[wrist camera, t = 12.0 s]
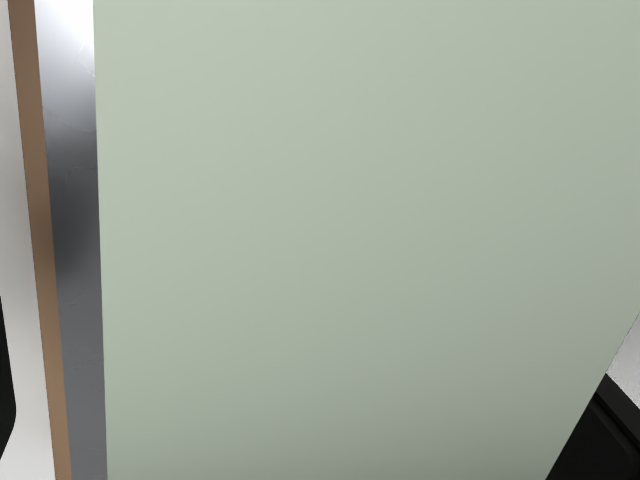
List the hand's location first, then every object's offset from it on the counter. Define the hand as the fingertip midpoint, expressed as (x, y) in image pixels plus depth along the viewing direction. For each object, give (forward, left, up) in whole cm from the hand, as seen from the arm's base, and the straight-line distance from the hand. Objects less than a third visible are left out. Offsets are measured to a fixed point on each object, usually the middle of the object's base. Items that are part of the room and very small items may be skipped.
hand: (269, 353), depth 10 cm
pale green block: (0, 0, -4) cm, 4 cm away
